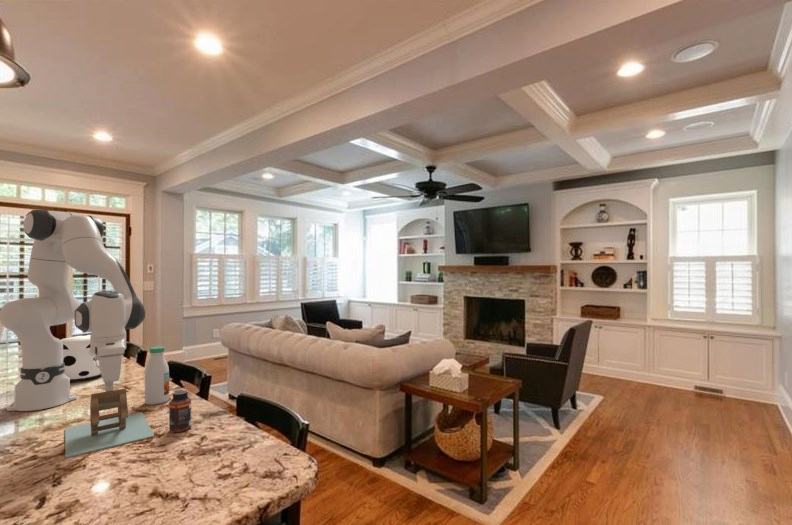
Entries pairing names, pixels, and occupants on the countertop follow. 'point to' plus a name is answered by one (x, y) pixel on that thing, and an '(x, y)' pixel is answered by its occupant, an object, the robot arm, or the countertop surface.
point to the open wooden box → (108, 402)
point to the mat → (105, 435)
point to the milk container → (79, 359)
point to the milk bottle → (156, 378)
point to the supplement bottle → (180, 412)
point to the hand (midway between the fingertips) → (108, 390)
